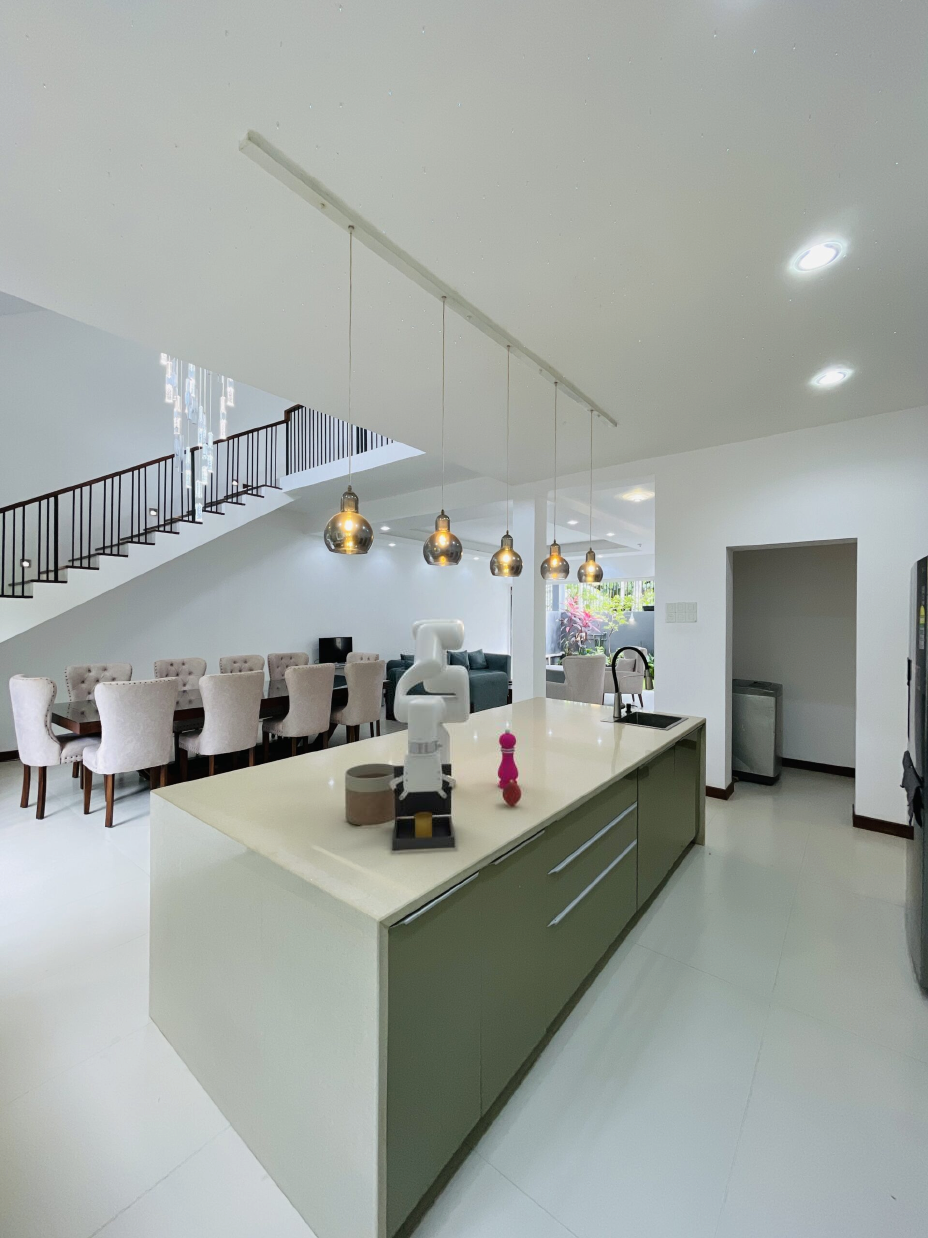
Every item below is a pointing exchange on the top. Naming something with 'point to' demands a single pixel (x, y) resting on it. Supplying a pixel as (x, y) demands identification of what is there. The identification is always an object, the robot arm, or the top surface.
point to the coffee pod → (423, 824)
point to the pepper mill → (507, 759)
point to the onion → (511, 793)
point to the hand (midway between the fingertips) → (423, 812)
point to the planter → (369, 794)
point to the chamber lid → (422, 797)
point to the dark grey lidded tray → (439, 839)
